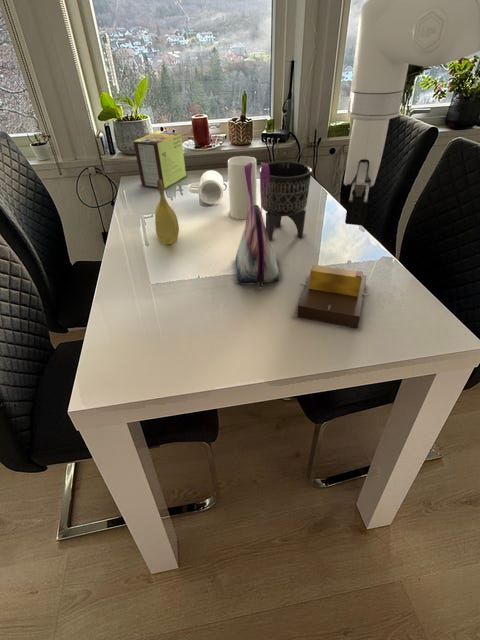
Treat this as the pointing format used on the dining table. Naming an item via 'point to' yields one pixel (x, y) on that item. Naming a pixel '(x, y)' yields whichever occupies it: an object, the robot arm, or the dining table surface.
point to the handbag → (256, 241)
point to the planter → (286, 194)
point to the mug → (209, 187)
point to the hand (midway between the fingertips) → (357, 212)
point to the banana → (165, 219)
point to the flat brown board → (331, 306)
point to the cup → (241, 186)
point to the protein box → (160, 158)
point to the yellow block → (335, 280)
